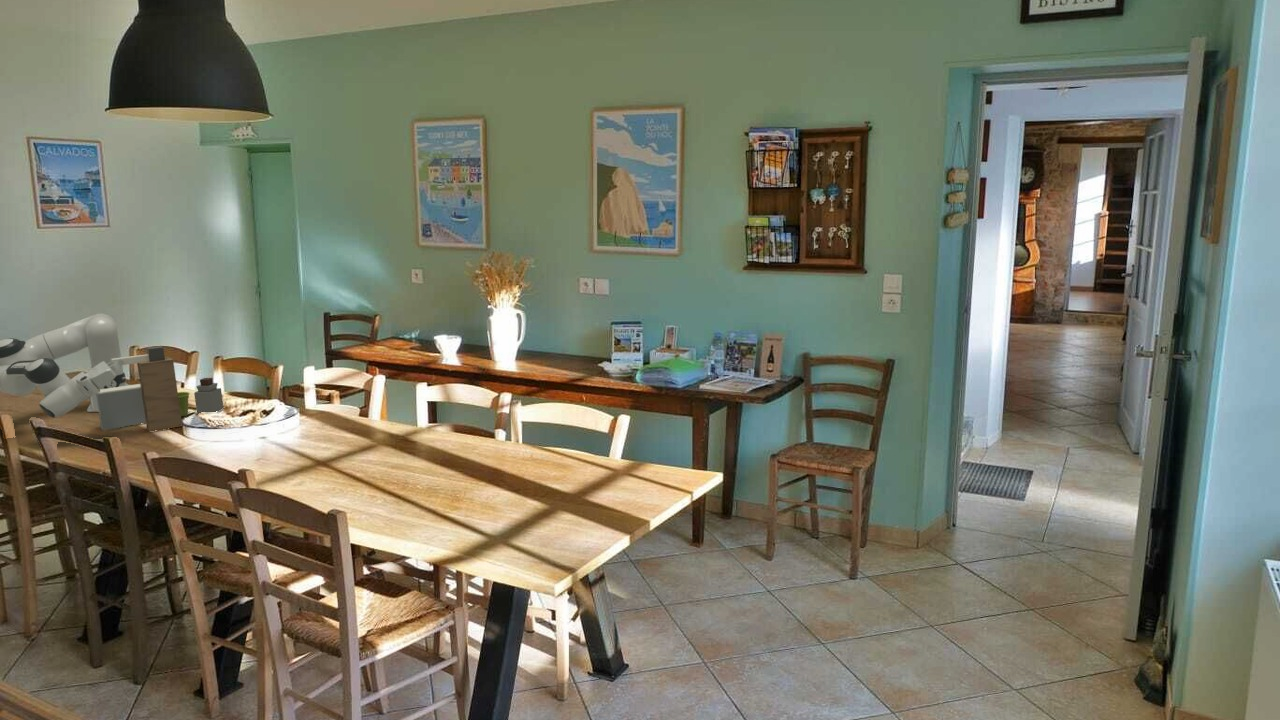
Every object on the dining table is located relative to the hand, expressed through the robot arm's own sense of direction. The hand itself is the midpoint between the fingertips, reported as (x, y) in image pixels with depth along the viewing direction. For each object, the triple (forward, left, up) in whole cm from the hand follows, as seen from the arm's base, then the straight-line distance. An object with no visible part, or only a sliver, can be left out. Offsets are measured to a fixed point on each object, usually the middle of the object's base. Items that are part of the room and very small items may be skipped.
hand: (121, 360), depth 338 cm
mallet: (0, +5, -2) cm, 5 cm away
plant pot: (-16, +19, -28) cm, 37 cm away
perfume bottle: (+9, +26, -28) cm, 39 cm away
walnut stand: (0, +11, -28) cm, 30 cm away
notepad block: (-15, 0, -28) cm, 32 cm away
